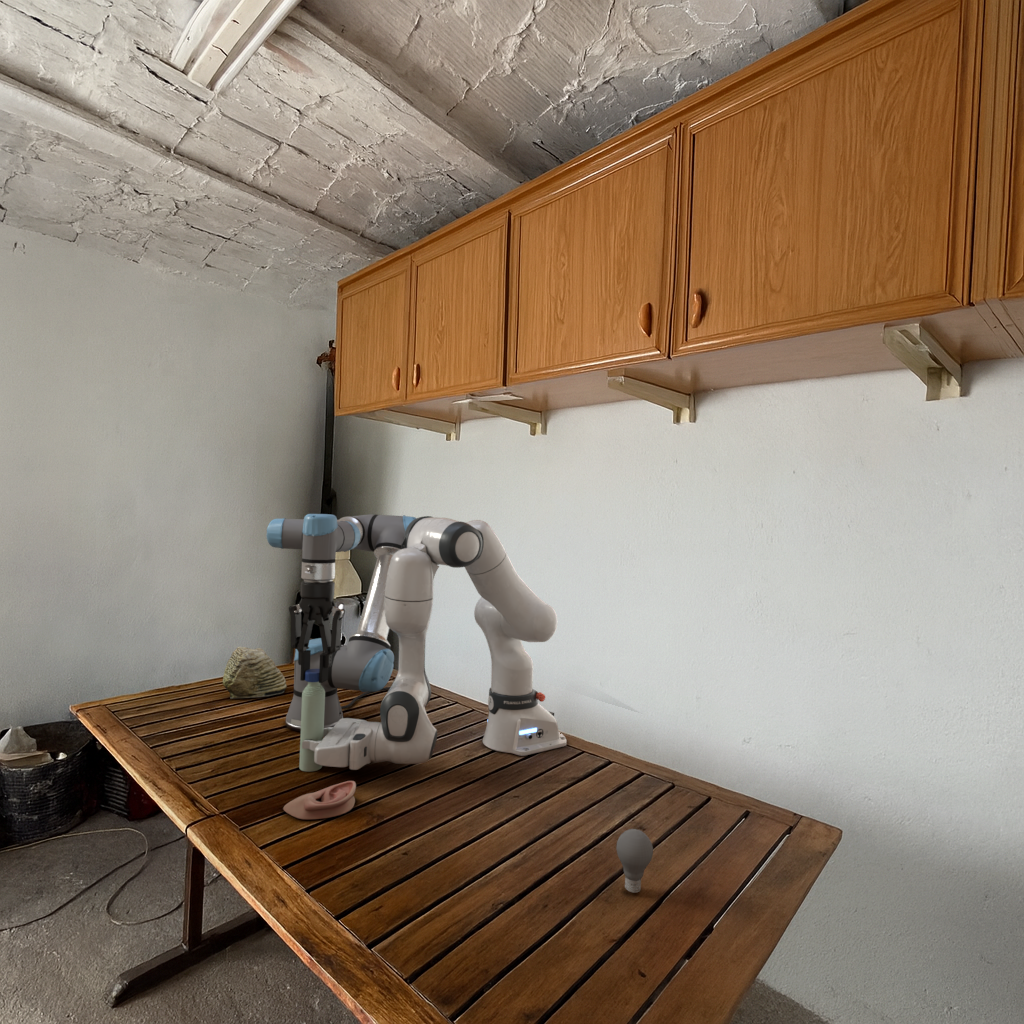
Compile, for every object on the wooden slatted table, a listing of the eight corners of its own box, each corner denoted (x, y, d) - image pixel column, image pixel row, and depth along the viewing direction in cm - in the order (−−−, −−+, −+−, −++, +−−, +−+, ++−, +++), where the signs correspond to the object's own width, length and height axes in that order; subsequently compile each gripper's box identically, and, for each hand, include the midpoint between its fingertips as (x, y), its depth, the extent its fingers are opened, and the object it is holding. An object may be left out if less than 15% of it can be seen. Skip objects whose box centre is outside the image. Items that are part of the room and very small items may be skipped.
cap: (304, 677, 149) (304, 669, 149) (322, 676, 150) (323, 668, 150) (305, 682, 145) (305, 673, 145) (324, 681, 146) (324, 672, 146)
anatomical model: (275, 795, 125) (305, 771, 136) (274, 815, 125) (304, 789, 136) (337, 804, 122) (363, 779, 133) (336, 825, 122) (362, 798, 133)
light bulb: (610, 879, 108) (613, 822, 108) (644, 879, 109) (647, 822, 109) (619, 902, 102) (622, 840, 102) (655, 901, 103) (658, 840, 103)
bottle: (320, 761, 151) (323, 669, 151) (324, 769, 147) (327, 674, 146) (297, 764, 149) (301, 671, 149) (301, 773, 145) (304, 676, 144)
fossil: (218, 695, 195) (220, 647, 195) (278, 685, 208) (279, 640, 207) (228, 703, 189) (230, 653, 188) (289, 692, 201) (290, 645, 201)
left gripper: (275, 579, 146) (272, 680, 146) (343, 585, 142) (339, 688, 142) (294, 576, 153) (290, 672, 153) (359, 581, 149) (355, 679, 149)
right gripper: (378, 713, 158) (323, 710, 158) (355, 744, 137) (292, 741, 138) (377, 738, 158) (322, 735, 158) (354, 773, 138) (291, 770, 138)
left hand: (314, 679), depth 148 cm, fingers closed on cap, 4 cm apart
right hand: (308, 738), depth 148 cm, fingers closed on bottle, 5 cm apart
